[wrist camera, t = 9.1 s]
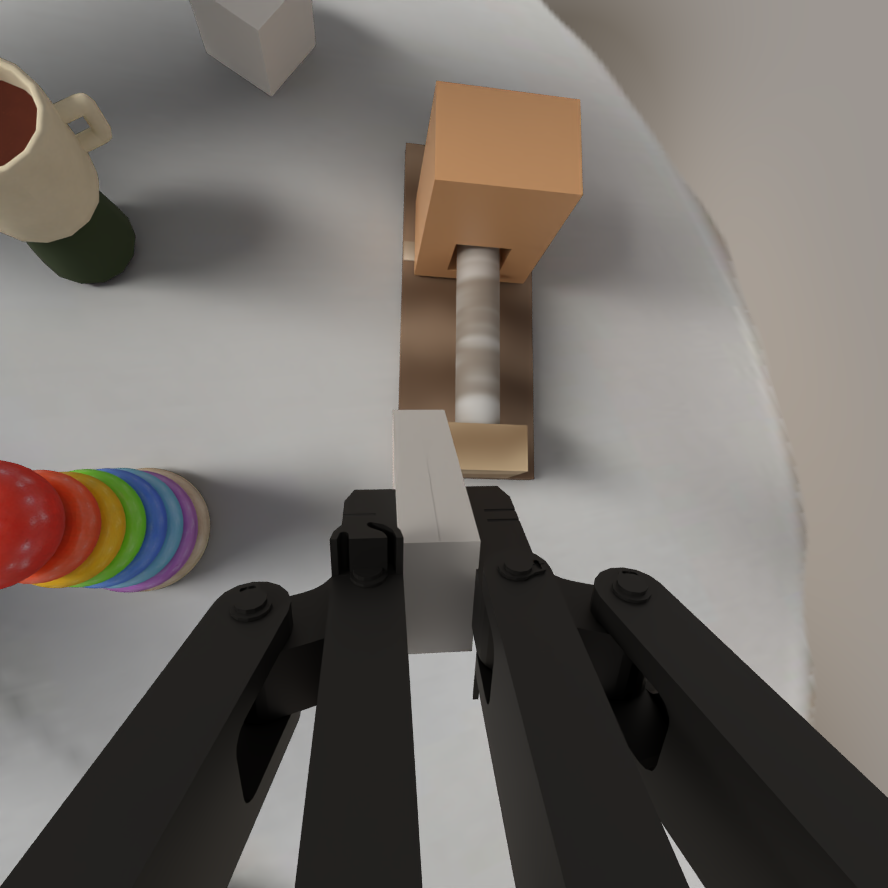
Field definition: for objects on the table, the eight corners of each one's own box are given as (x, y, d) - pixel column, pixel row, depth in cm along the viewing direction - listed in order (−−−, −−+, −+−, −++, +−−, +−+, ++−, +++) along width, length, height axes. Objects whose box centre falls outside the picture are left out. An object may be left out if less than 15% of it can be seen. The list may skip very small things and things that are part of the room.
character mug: (134, 170, 41) (32, 9, 28) (189, 248, 41) (112, 120, 28) (-9, 244, 39) (-190, 104, 26) (48, 326, 38) (-105, 226, 26)
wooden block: (523, 283, 43) (582, 195, 31) (414, 274, 41) (434, 179, 30) (522, 211, 44) (580, 99, 32) (415, 200, 42) (436, 80, 31)
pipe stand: (529, 480, 42) (558, 472, 36) (396, 476, 40) (403, 467, 34) (526, 164, 46) (551, 110, 40) (405, 151, 44) (412, 92, 38)
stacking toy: (201, 458, 39) (59, 394, 20) (223, 572, 38) (95, 613, 19) (78, 484, 37) (-194, 441, 19) (98, 603, 36) (-168, 679, 18)
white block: (271, 98, 43) (257, 30, 38) (206, 53, 43) (182, -21, 37) (316, 46, 45) (309, -28, 39) (252, 2, 44) (236, -78, 39)
